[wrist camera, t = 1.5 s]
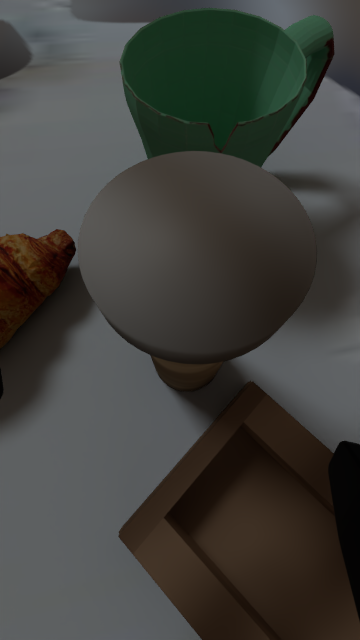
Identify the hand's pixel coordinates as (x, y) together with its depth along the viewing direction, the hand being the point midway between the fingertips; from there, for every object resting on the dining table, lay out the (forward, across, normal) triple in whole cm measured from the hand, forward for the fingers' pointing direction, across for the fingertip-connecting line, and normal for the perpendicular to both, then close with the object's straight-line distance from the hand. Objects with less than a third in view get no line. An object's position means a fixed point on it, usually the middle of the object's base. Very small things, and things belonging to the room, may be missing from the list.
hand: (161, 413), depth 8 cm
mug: (+22, 0, -5) cm, 23 cm away
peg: (+11, 0, +5) cm, 12 cm away
